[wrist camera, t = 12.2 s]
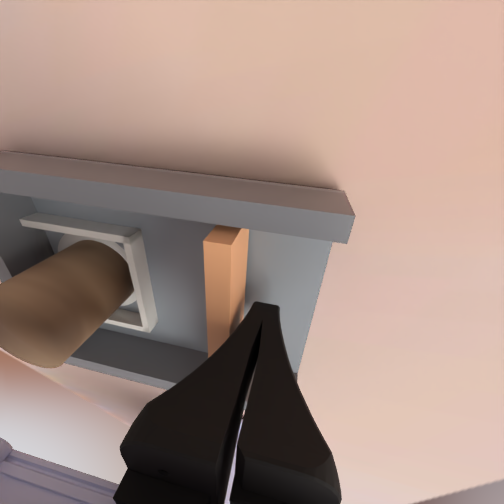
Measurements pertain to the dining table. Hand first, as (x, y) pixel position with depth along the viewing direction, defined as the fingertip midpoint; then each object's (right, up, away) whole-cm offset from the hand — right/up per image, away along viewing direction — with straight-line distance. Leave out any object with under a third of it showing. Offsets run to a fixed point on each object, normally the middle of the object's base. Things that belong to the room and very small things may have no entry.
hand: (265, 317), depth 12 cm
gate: (-2, +1, +1) cm, 2 cm away
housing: (-6, +2, +2) cm, 6 cm away
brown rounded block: (-10, +2, +2) cm, 10 cm away
